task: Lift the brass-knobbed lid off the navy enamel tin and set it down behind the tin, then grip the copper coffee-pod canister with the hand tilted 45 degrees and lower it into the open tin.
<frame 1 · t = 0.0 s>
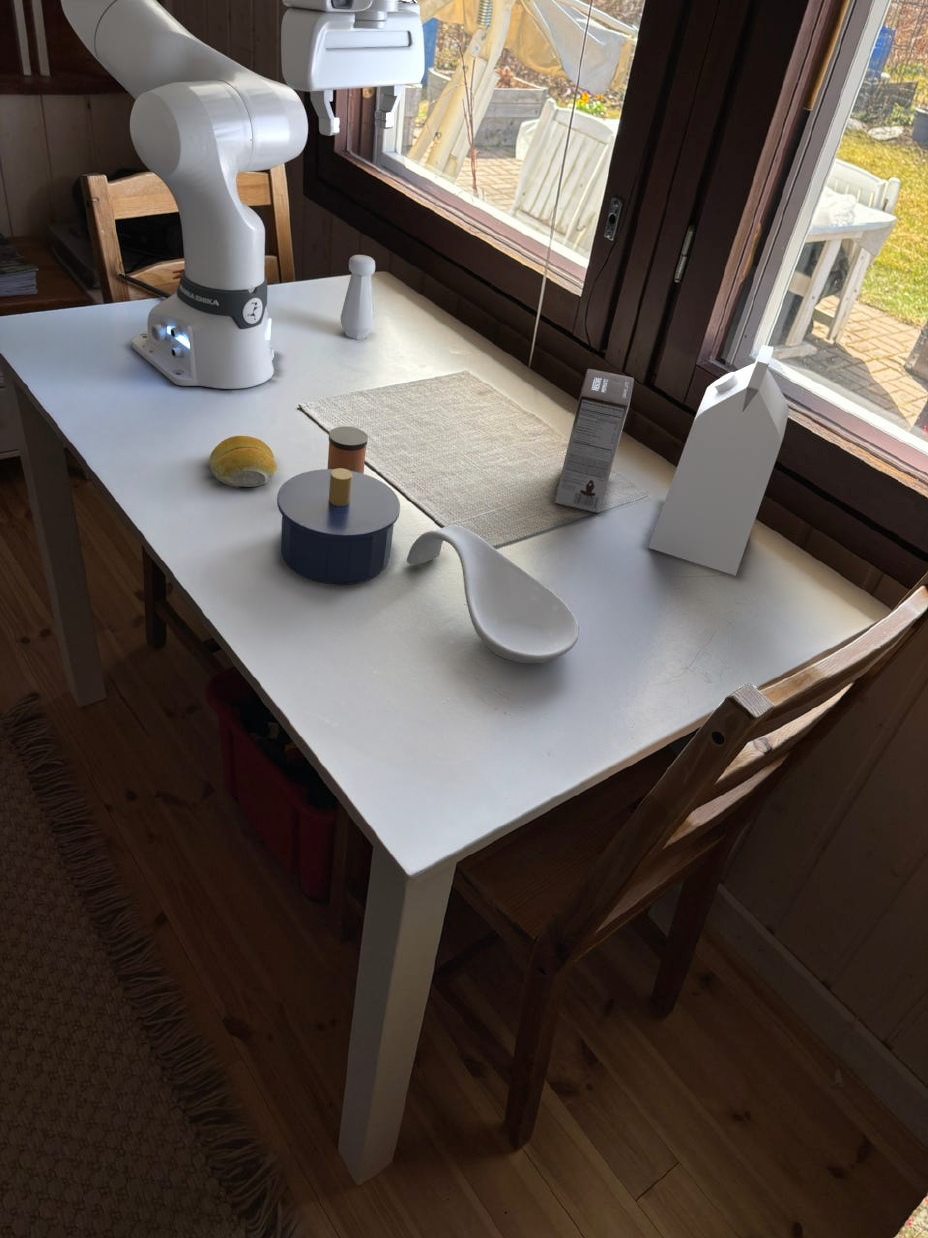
hand: (357, 131, 111), 39 cm above the table, tool pointing down, fingers open, 8 cm apart
tin lid: (339, 504, 108), point 7 cm above the table, touching tin
coffee box: (580, 493, 131), on the table
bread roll: (244, 473, 123), on the table
pod canister: (344, 489, 123), on the table
salt shaker: (356, 335, 162), on the table
tin: (335, 552, 112), on the table
spoon rest: (482, 615, 107), on the table
milk: (698, 540, 127), on the table
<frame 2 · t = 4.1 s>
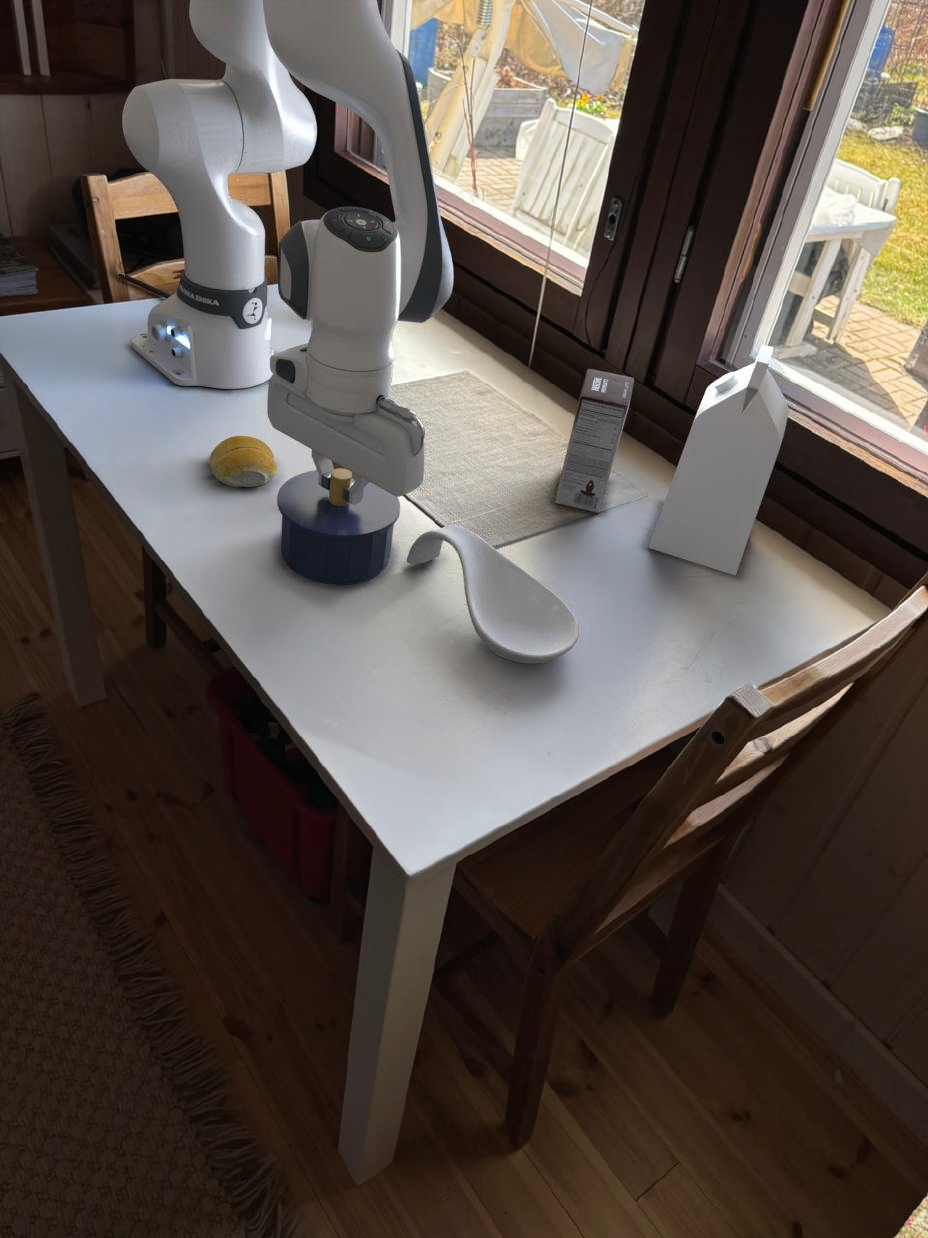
hand: (339, 493, 107), 8 cm above the table, tool pointing down, fingers closed on tin lid, 2 cm apart
tin lid: (339, 504, 108), point 7 cm above the table, touching gripper, tin
everything else where it was.
when the fingers open (2 cm above the table, at t = 10.3 s): tin lid stays where it is, point 1 cm above the table.
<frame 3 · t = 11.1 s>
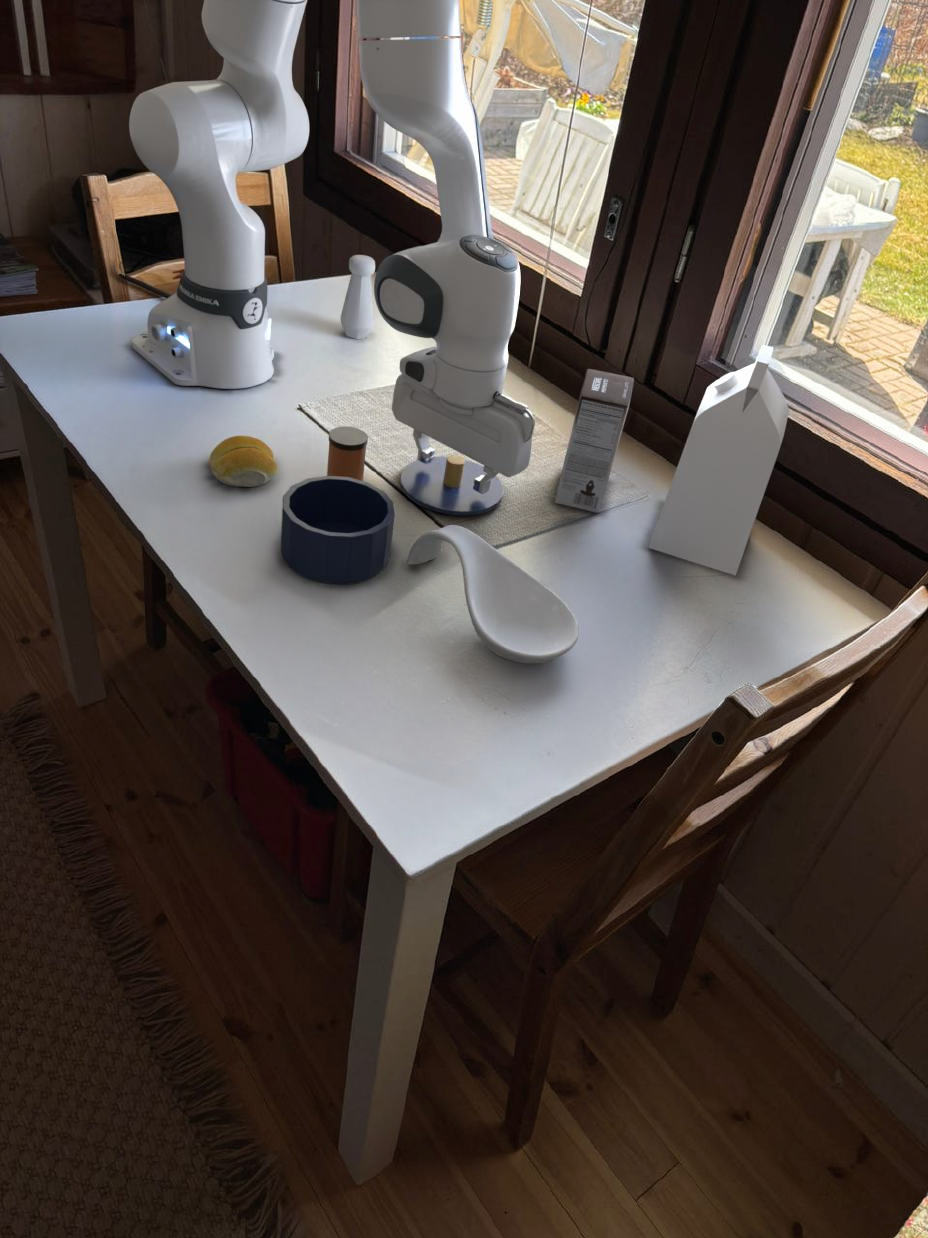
hand: (452, 475, 125), 2 cm above the table, tool pointing down, fingers open, 8 cm apart
tin lid: (451, 486, 126), point 1 cm above the table
everything else where it was.
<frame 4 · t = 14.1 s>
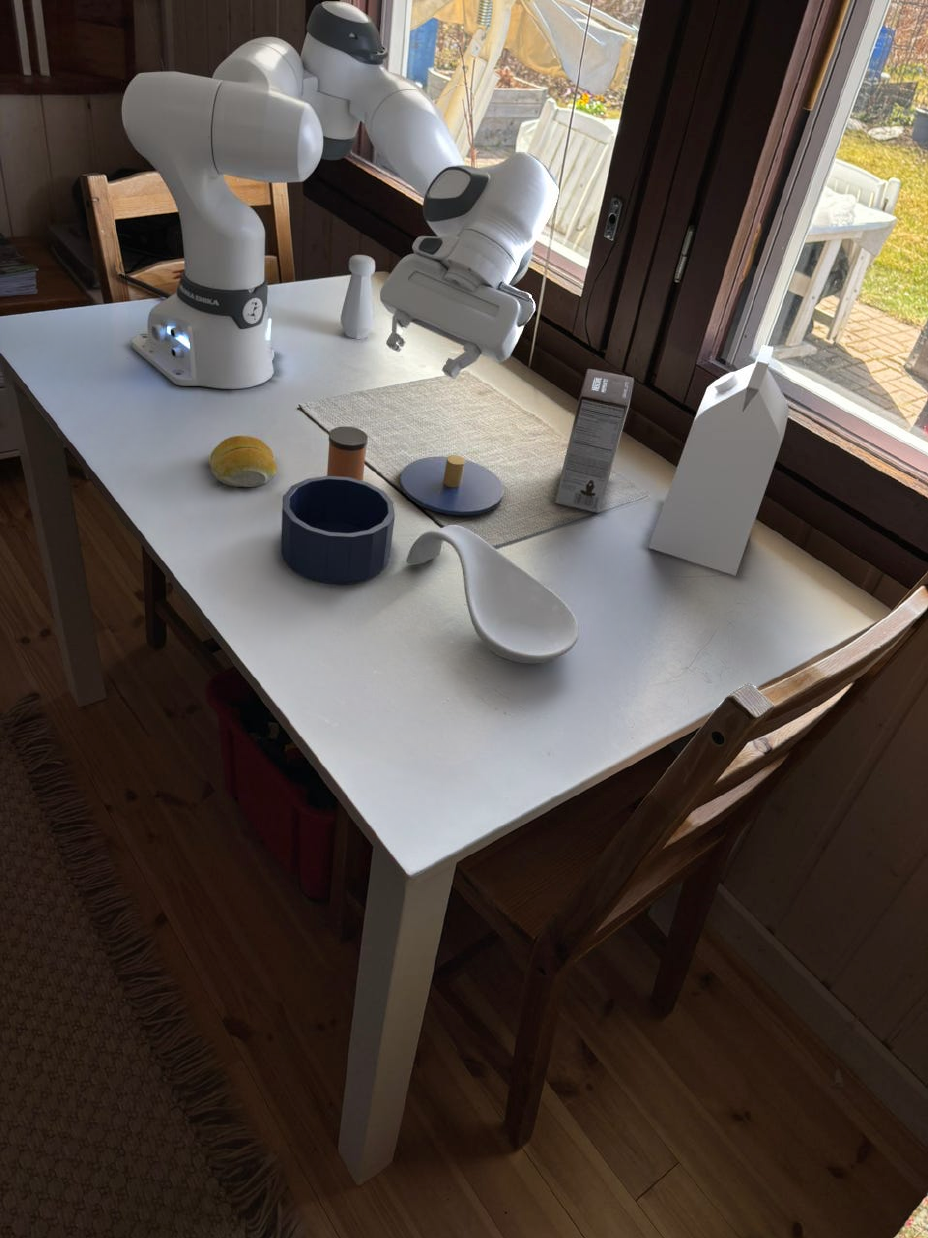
hand: (419, 361, 123), 14 cm above the table, tool tilted 45°, fingers open, 8 cm apart
nothing on the table moved.
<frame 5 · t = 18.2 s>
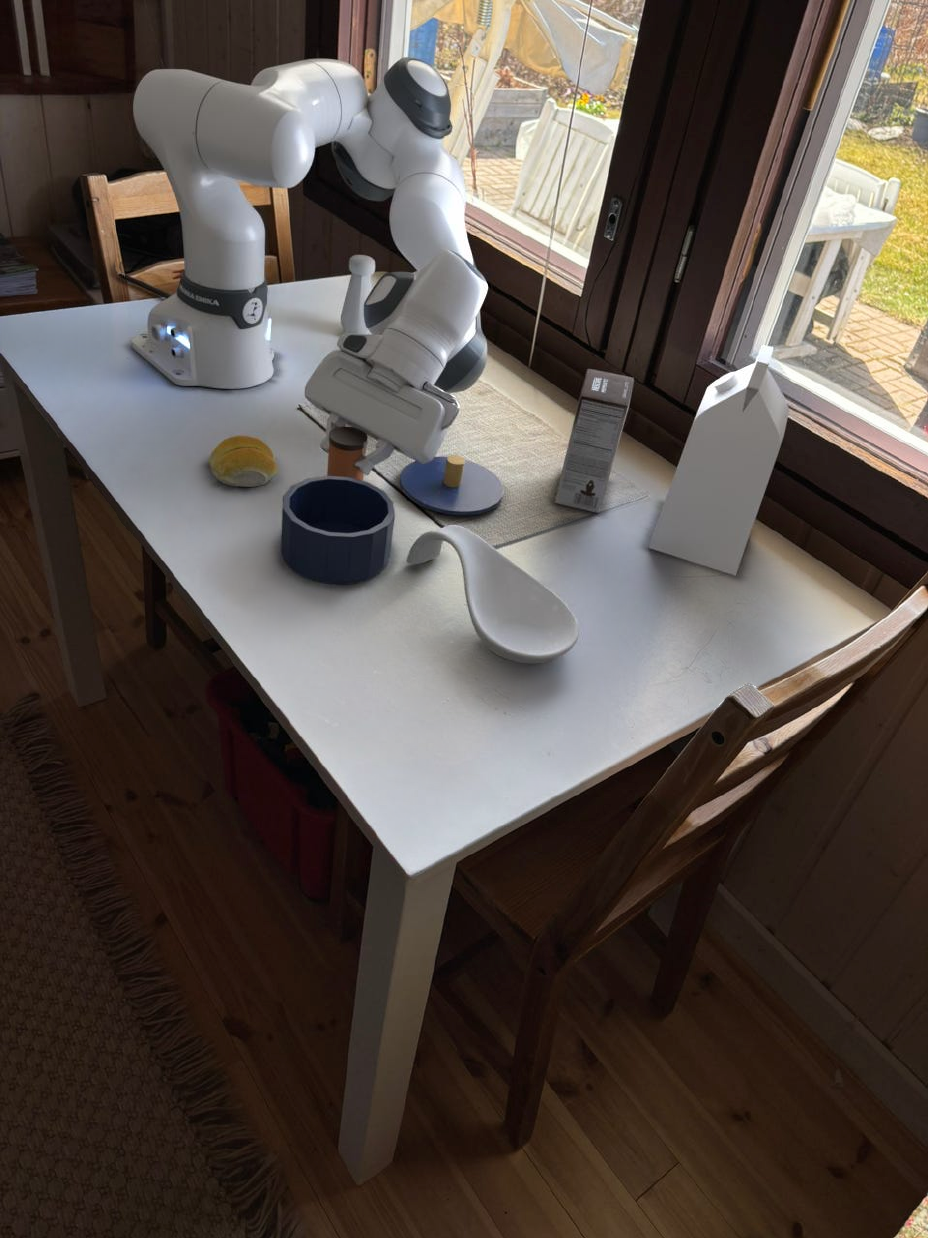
hand: (342, 461, 120), 4 cm above the table, tool tilted 45°, fingers closed on pod canister, 4 cm apart
pod canister: (344, 489, 123), on the table, touching gripper
everything else where it was.
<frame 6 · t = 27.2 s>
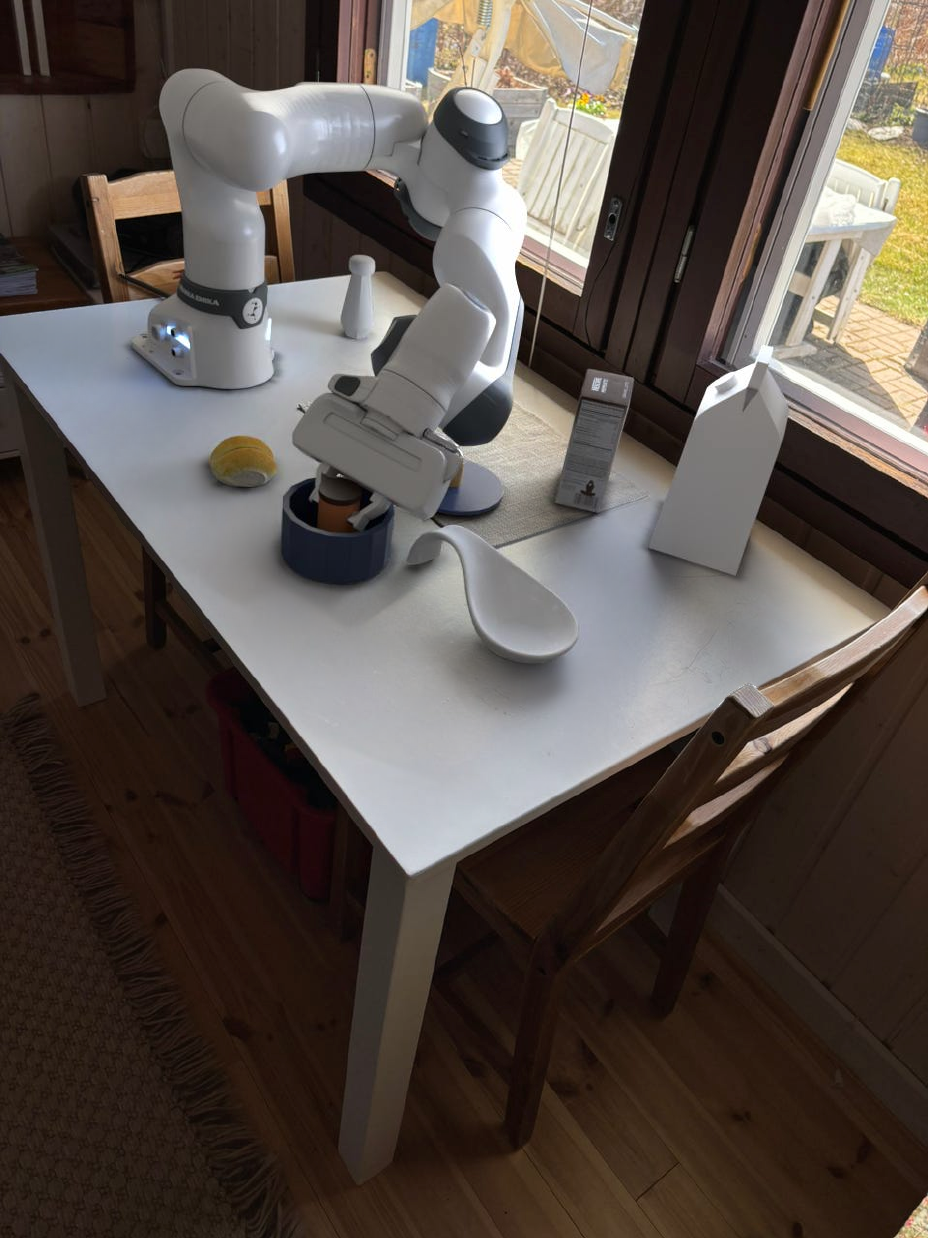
hand: (334, 516, 108), 5 cm above the table, tool tilted 45°, fingers closed on pod canister, 4 cm apart
pod canister: (335, 545, 111), point 1 cm above the table, touching gripper
everything else where it was.
when the fingers open (7 cm above the table, at t = 38.5 s): pod canister drops 2 cm, resting on tin.
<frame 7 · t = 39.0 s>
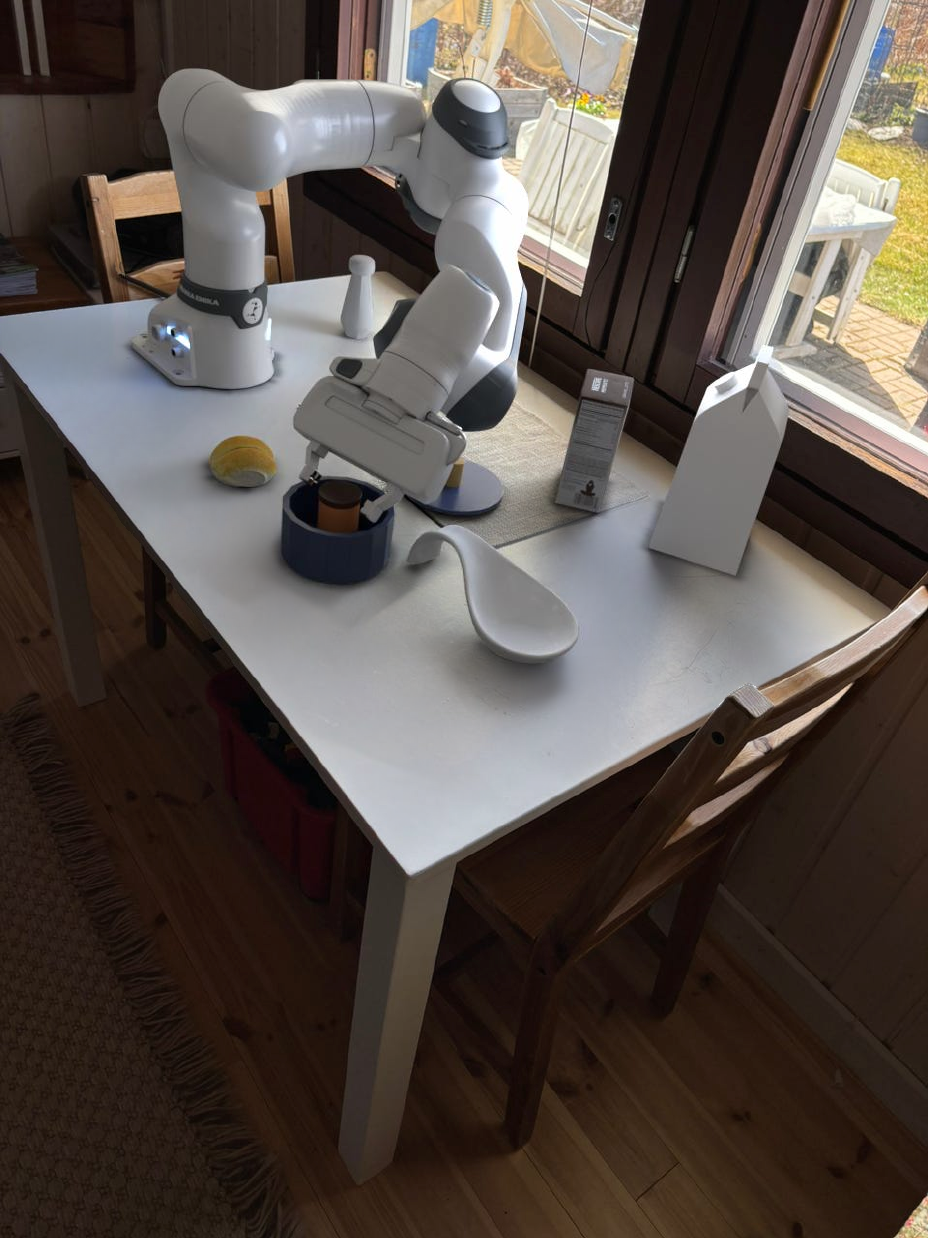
hand: (335, 500, 107), 7 cm above the table, tool tilted 45°, fingers open, 8 cm apart
pod canister: (335, 548, 111), point 1 cm above the table, touching tin
everything else where it was.
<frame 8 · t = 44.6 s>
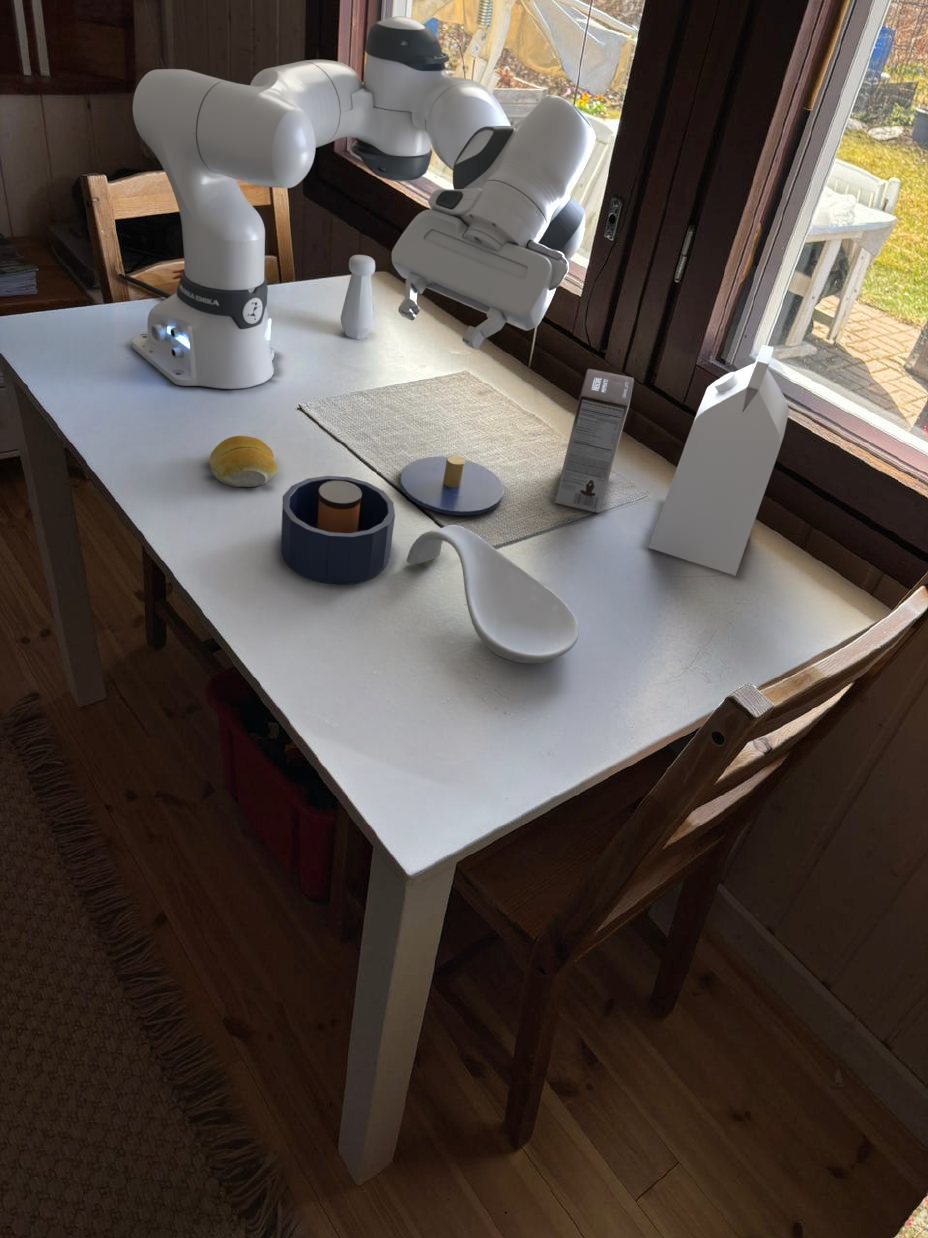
hand: (436, 330, 108), 23 cm above the table, tool tilted 45°, fingers open, 8 cm apart
nothing on the table moved.
at the end: tin lid inside the target area (0.1 cm from its centre), point 0.6 cm above the table; pod canister 0.1 cm off-centre in the tin, point 0.6 cm above the tin's base; pod canister tilted 0° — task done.
